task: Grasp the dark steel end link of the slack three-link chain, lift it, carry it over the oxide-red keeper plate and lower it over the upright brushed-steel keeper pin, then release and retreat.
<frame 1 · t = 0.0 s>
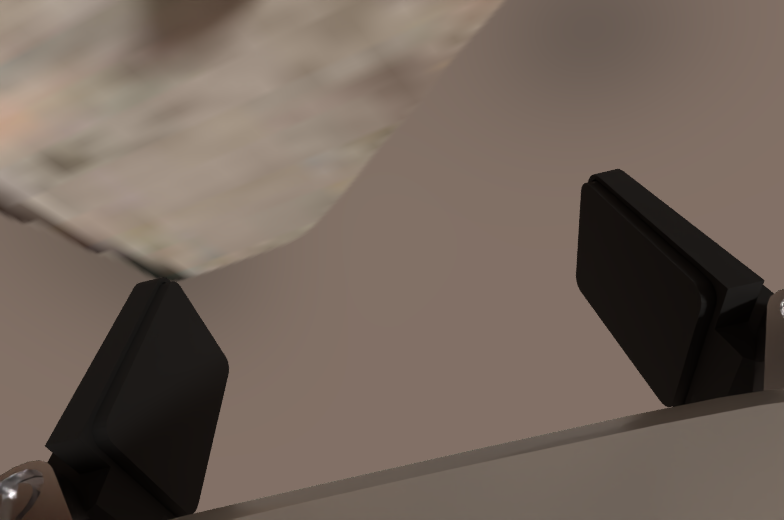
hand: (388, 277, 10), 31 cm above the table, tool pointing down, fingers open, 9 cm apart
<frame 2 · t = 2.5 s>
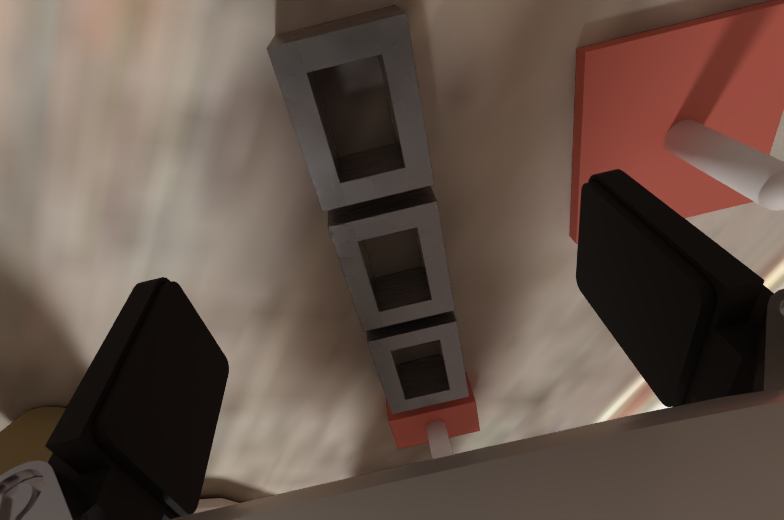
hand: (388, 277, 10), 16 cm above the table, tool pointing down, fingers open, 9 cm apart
end link: (355, 103, 24), on the table
squeeze bottle: (62, 425, 35), on the table
keeper: (670, 130, 27), on the table
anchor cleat: (428, 396, 38), on the table
link b: (390, 240, 29), on the table
link a: (413, 336, 34), on the table
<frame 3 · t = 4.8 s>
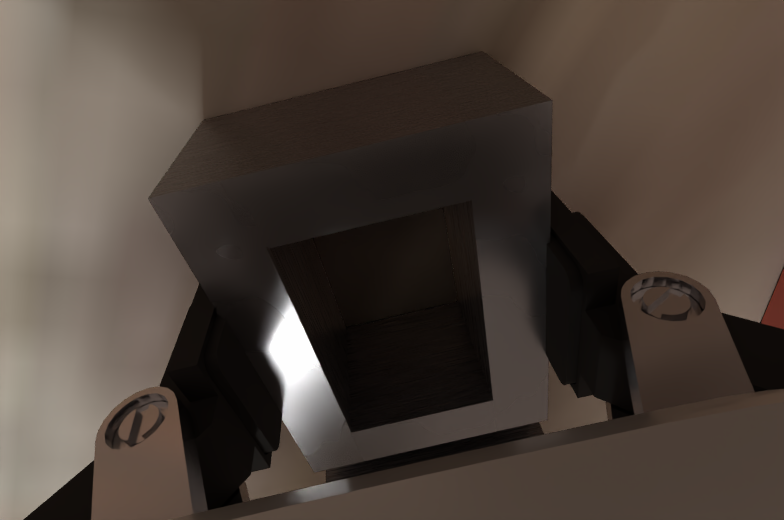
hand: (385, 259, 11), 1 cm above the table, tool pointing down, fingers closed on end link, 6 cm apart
end link: (382, 241, 12), on the table, touching gripper
link b: (432, 432, 17), on the table
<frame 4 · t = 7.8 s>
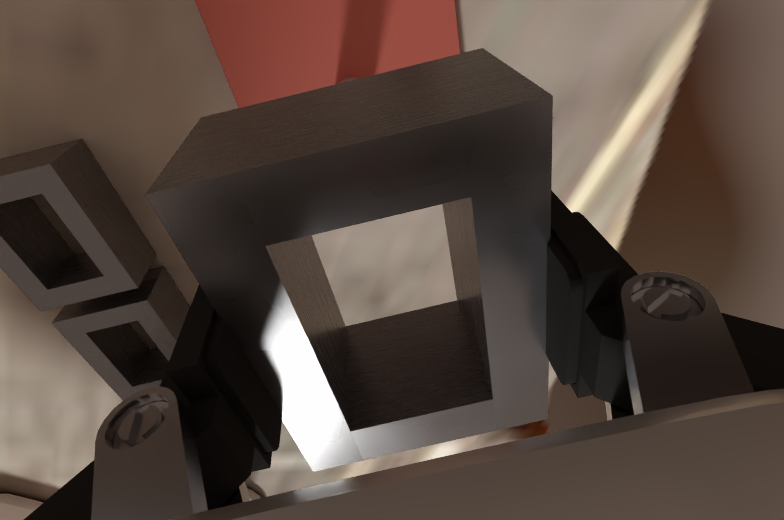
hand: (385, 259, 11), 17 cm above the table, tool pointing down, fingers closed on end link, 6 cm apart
end link: (381, 239, 12), point 16 cm above the table, touching gripper
keeper: (351, 91, 25), on the table
link b: (74, 213, 27), on the table
link a: (151, 319, 32), on the table
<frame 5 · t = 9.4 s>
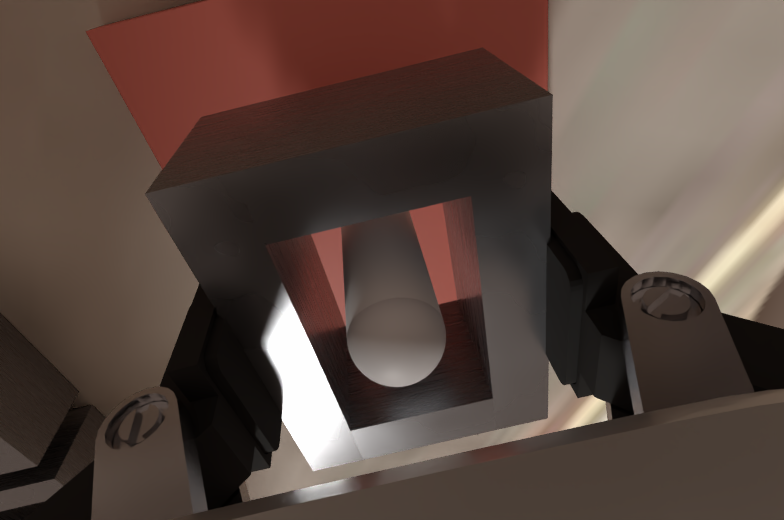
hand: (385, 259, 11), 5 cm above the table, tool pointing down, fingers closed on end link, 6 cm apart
end link: (381, 239, 12), point 5 cm above the table, touching gripper
keeper: (367, 172, 15), on the table
link a: (82, 464, 23), on the table
when the fingers open (3 cm above the table, at t = 10.7 s): end link drops 1 cm, resting on keeper.
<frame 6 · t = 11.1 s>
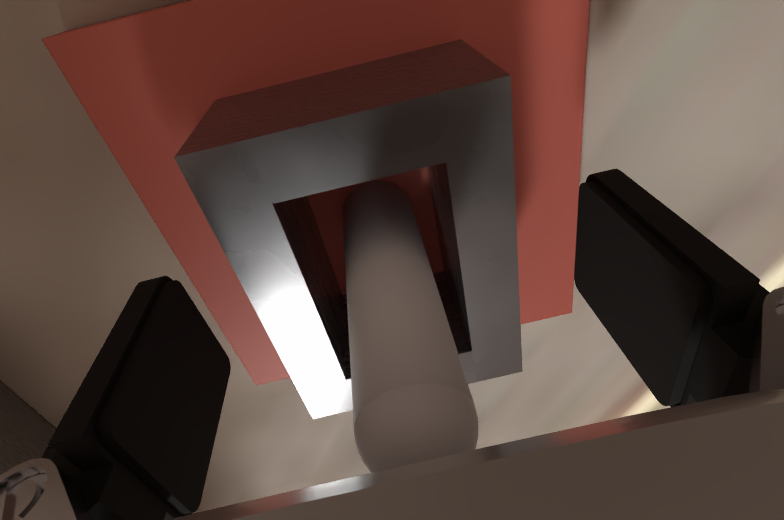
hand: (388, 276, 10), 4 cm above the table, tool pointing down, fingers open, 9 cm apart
end link: (374, 212, 13), point 1 cm above the table, touching keeper
keeper: (374, 196, 14), on the table
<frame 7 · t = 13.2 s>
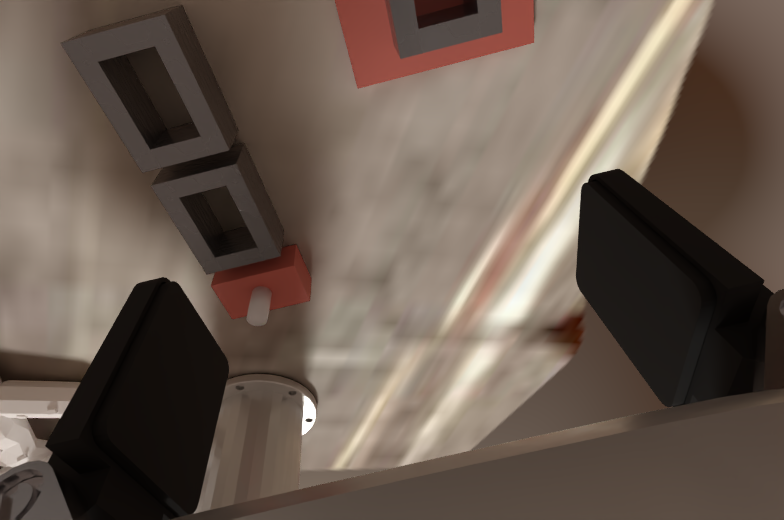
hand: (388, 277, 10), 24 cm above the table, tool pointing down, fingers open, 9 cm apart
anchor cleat: (266, 271, 39), on the table
link b: (169, 84, 29), on the table
link a: (229, 199, 35), on the table
pretzel: (55, 438, 51), on the table
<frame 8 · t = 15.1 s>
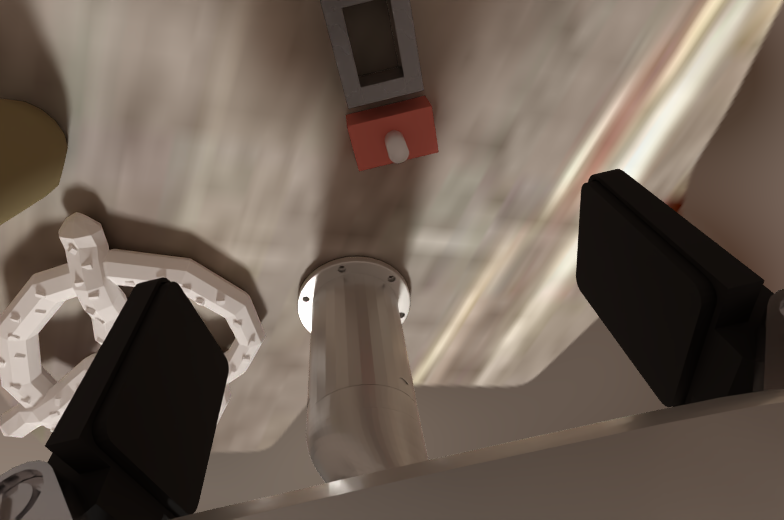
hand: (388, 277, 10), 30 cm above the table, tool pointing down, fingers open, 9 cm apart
squeeze bottle: (28, 134, 36), on the table
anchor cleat: (390, 127, 39), on the table
link a: (370, 35, 35), on the table
pretzel: (142, 331, 50), on the table
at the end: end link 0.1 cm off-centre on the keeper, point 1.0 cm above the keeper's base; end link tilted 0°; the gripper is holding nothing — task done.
